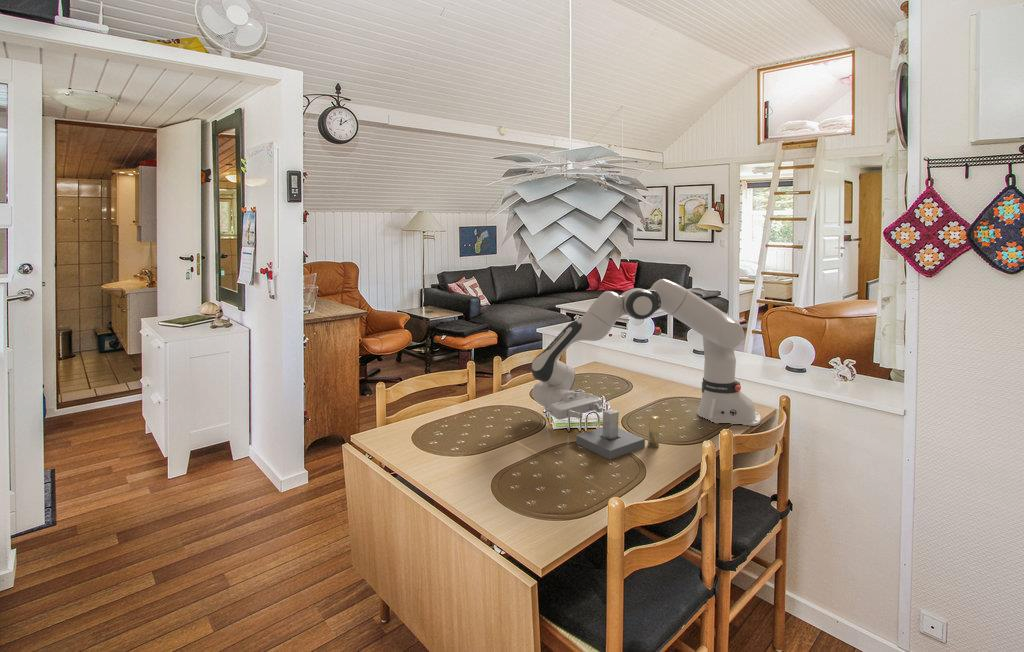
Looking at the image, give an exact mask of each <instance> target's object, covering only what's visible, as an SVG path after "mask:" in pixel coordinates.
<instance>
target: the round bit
mask: <svg viewBox="0 0 1024 652" xmlns="http://www.w3.org/2000/svg"><path fill="white" fill-rule="evenodd" d="M660 424H661V417H660V416H658V415H649V416H648V427H647V428H648V429H647V431H648V432H647V447H648V448H650V449H658V448H659V446H660Z"/></svg>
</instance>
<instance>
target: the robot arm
mask: <svg viewBox="0 0 1024 652" xmlns="http://www.w3.org/2000/svg"><path fill="white" fill-rule="evenodd" d="M659 309H660V310H662V311H664V312H665V313H667V315H670V316H671V317H673V318H674V319H676V320H678V321H679V322H681V323H682V324H684V325H686V326H687V327H689V328H690V329H692V330H693V331H695V332H697V334H699V335H701V336H702V342H703V344H702V345H703V351H704V353H703V354H704V355H703V358H704V362H703V363H704V366H703V377H702V381H701V393H702V394H701V399H700V403H699V407H698V410H697V413H696V414H697V415H698V416H699V417H701V418H702V417H703V419H704V418H705V420H707V419H708V420H707V421H709V420H710V421H711V422H710V421H709V422H710V423H712V422H714V423H713V424H719V423H733V424H743V425H742V426H747V425H748V427H749V426H750V427H751V426H752V427H756V426H759V424H761V421H762V416H761V414H760V413H759V412H757V411H756V408H755V404H754V402H753V400H752V399H751V398H750V397H748V395H746V394H745V393H743V392H742V391H741V388H742V387H741V382H740V381H737V380H736V370H737V369H736V365H737V358H736V355H735V350H734V348H737V347H739V346H740V345H741V344H742V342H743V341H744V338H745V331H744V329H743V327H742V324H741V323H740V321H738V320H737V319H735V318H733V317H732V316H731V315H729V314H727V313H726V312H723V310H720V309H719V308H718V307H716V306H714V305H712V303H709V302H708V301H706V300H704V299H703V298H701V297H700V296H698V295H697V294H695V293H694V292H692V291H691V290H689V289H687V288H685V287H684V286H682V285H680V284H678V283H676V282H674V281H671V280H669V279H665V278H659V279H658V280H657V281H655V282H654V283H653V284H652V285H651V287H650V288H648V289H644V288H639V287H632V288H627V289H626V290H624V291H623V292H620V293H617V292H615V291H611V290H606V291H604V292H602V293H601V294H600V295H599V296H598V297H597V299H595V300H594V301H593V302H592V304H591V305H590V307H589V308H588V309H587V311H586V312H585V314H583V315H582V316H581V317H580V318H579V319H577V320H573V321H571V322H570V323H569V324H568V325H566V326H565V328H563V330H561V331H560V332H559V334H558V335H557V336H556V337H555V338H554V339H553V340H552V341H551V343H549V345H548V346H547V347H546V348H545V349H544V350H543V351H542V352H540V353H539V354H538V355H536V357H534V359H533V360H532V362H531V364H530V365H531V366H530V367H531V374H532V377H533V378H534V379H535V380H537V381H539V382H536V384H535V385H534V386H533V388H532V397H533V399H534V401H535V402H536V403H537V404H539V405H540V406H542V407H544V410H545V411H546V412H549V415H551V416H552V417H554V418H555V419H558V420H565V419H568V418H576V419H581V418H583V414H587V413H589V412H593V411H595V413H603V411H604V410H603V409H604V408H603V407H602V398H600V397H599V396H596V395H594V394H592V393H588V392H587V393H586V391H585V390H581V389H578V390H577V389H576V390H571V389H572V388H573V386H574V383H575V381H576V372H575V369H574V368H573V366H571V365H569V364H567V363H565V362H563V361H560V360H559V358H560V357H561V356H562V355H563V354H564V353H565V352H566V350H567V349H569V347H570V346H571V345H572V344H574V343H575V342H580V341H583V342H585V341H587V342H588V341H589V342H596V341H597V342H598V341H601V340H602V339H604V338H605V337H606V336H607V335H608V334H609V333H610V331H611V330H612V328H613V327H614V325H615V324H616V322H618V321H617V320H619V319H620V318H621V317H623V316H625V315H627V316H629V317H630V318H633V319H635V320H641V321H642V320H646V319H648V318H650V317H651V316H652V315H654V314H655V313H656V312H657V311H659ZM718 422H719V423H718ZM733 424H732V425H733Z"/></svg>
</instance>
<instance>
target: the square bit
mask: <svg viewBox="0 0 1024 652" xmlns="http://www.w3.org/2000/svg"><path fill="white" fill-rule="evenodd" d="M619 414H620V413H619V411H618V410H615V409H612V408H608V409H605V410H602V427H603V438H604V439H606V440H608V441H613V440H616V439H618V428H619V417H620V416H619Z"/></svg>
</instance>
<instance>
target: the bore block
mask: <svg viewBox="0 0 1024 652" xmlns="http://www.w3.org/2000/svg"><path fill="white" fill-rule="evenodd" d="M575 443H576V445H578V446H580V447H583V448H585V449H586V450H589V451H591V452H593V453H595V454H597V455H599V456H601V457H603V458H605V459H606V460H607V459H608V460H613V459H617V458H618V457H621V455H622V456H624V454H625V455H627V454H630V453H633V452H636V451H638V450H642V449H643V448H646V447H645V446H646V438H644V437H641V436H639V435H636V434H634V433H632V432H630V431H627V430H624V429H623V428H620V427H618V439H616V440H613V441H608V440H606V439H604V438H603V426H602V427H598V428H595V429H593V430H592V429H591V430H589V431H586V432H582V433H579V434H576V435H575Z"/></svg>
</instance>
